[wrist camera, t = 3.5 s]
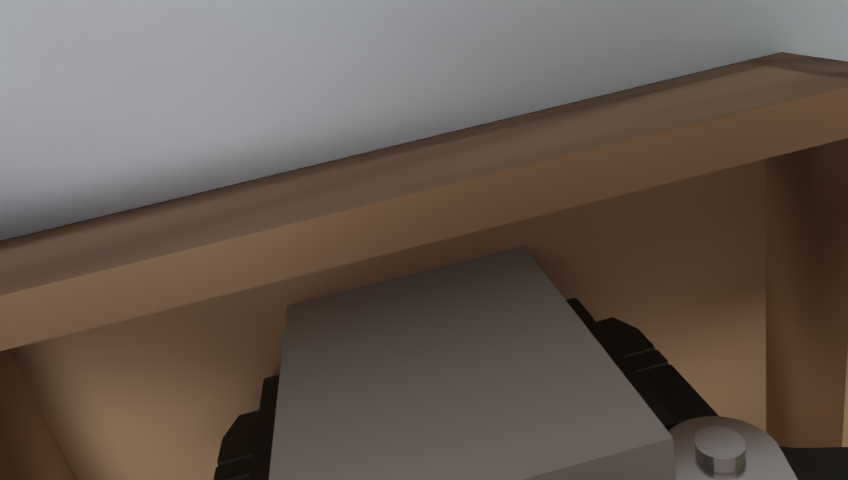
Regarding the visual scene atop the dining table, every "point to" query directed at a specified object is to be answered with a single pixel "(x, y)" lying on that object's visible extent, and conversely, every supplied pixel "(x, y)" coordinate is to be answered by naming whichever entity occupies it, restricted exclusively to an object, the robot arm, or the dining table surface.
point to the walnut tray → (449, 243)
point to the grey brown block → (457, 384)
